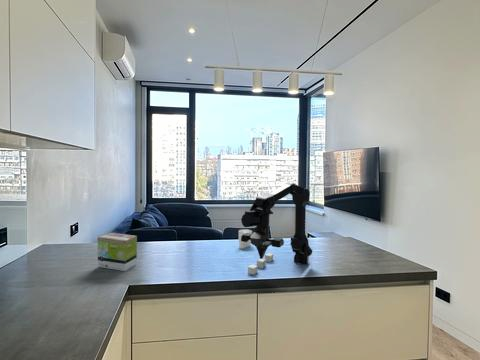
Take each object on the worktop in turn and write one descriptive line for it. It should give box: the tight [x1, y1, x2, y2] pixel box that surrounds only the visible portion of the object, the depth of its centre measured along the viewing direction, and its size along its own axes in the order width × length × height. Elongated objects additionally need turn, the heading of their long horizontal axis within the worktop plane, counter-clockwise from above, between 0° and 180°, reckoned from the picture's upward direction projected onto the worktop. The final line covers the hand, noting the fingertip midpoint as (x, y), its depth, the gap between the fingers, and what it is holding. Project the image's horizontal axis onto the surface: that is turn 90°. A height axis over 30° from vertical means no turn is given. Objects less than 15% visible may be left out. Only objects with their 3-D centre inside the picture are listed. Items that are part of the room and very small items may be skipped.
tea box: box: [97, 232, 138, 272], centre depth 151 cm, size 15×10×15 cm, turn 76°
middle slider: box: [256, 258, 267, 269], centre depth 154 cm, size 3×4×3 cm
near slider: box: [247, 264, 259, 276], centre depth 145 cm, size 3×4×3 cm
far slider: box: [264, 252, 274, 263], centre depth 163 cm, size 3×4×3 cm
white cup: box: [238, 229, 253, 249], centre depth 189 cm, size 8×8×10 cm
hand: (261, 258), depth 143 cm, fingers closed
